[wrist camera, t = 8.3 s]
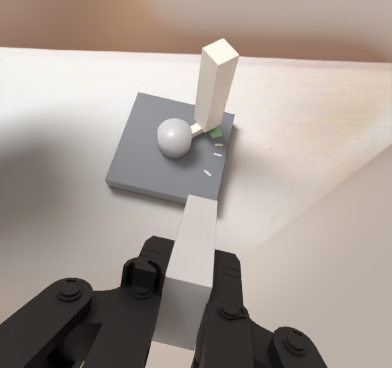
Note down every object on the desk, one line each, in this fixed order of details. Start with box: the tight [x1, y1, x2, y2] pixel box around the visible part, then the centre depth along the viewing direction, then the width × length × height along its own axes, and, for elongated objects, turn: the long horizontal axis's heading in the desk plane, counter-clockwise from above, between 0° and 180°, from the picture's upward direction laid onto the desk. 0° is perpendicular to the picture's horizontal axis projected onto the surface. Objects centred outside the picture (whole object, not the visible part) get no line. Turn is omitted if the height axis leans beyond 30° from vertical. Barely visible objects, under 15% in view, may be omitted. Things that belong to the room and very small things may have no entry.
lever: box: [157, 39, 239, 158], centre depth 33 cm, size 8×4×12 cm, turn 125°
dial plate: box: [106, 92, 235, 205], centre depth 39 cm, size 13×13×2 cm
